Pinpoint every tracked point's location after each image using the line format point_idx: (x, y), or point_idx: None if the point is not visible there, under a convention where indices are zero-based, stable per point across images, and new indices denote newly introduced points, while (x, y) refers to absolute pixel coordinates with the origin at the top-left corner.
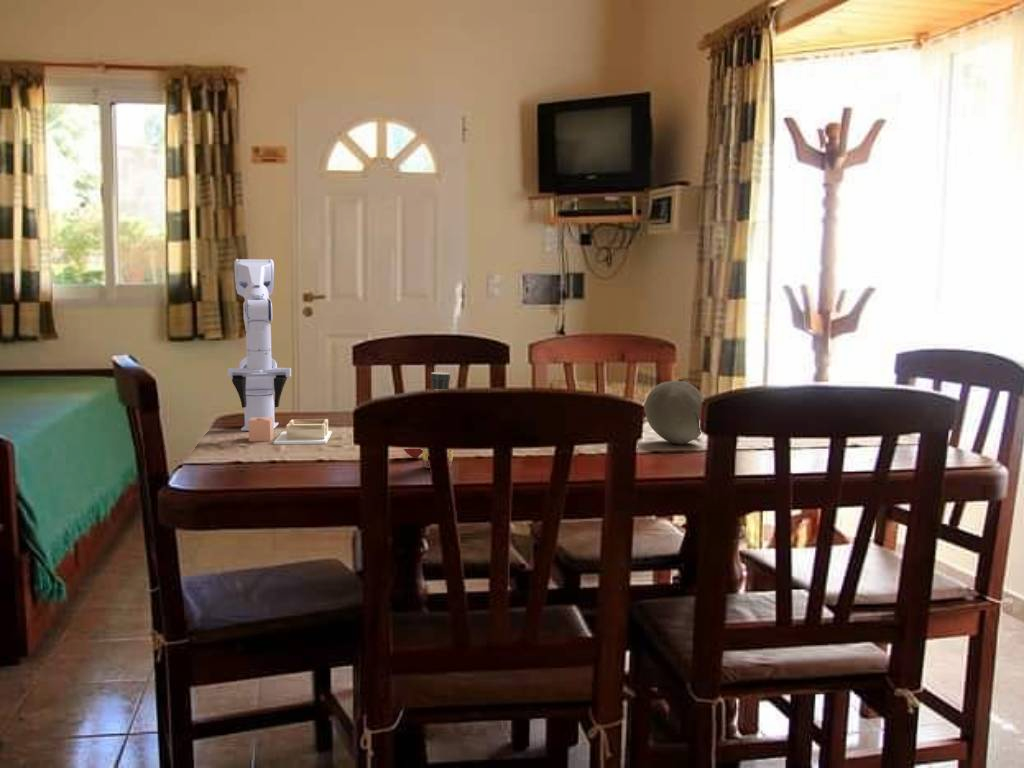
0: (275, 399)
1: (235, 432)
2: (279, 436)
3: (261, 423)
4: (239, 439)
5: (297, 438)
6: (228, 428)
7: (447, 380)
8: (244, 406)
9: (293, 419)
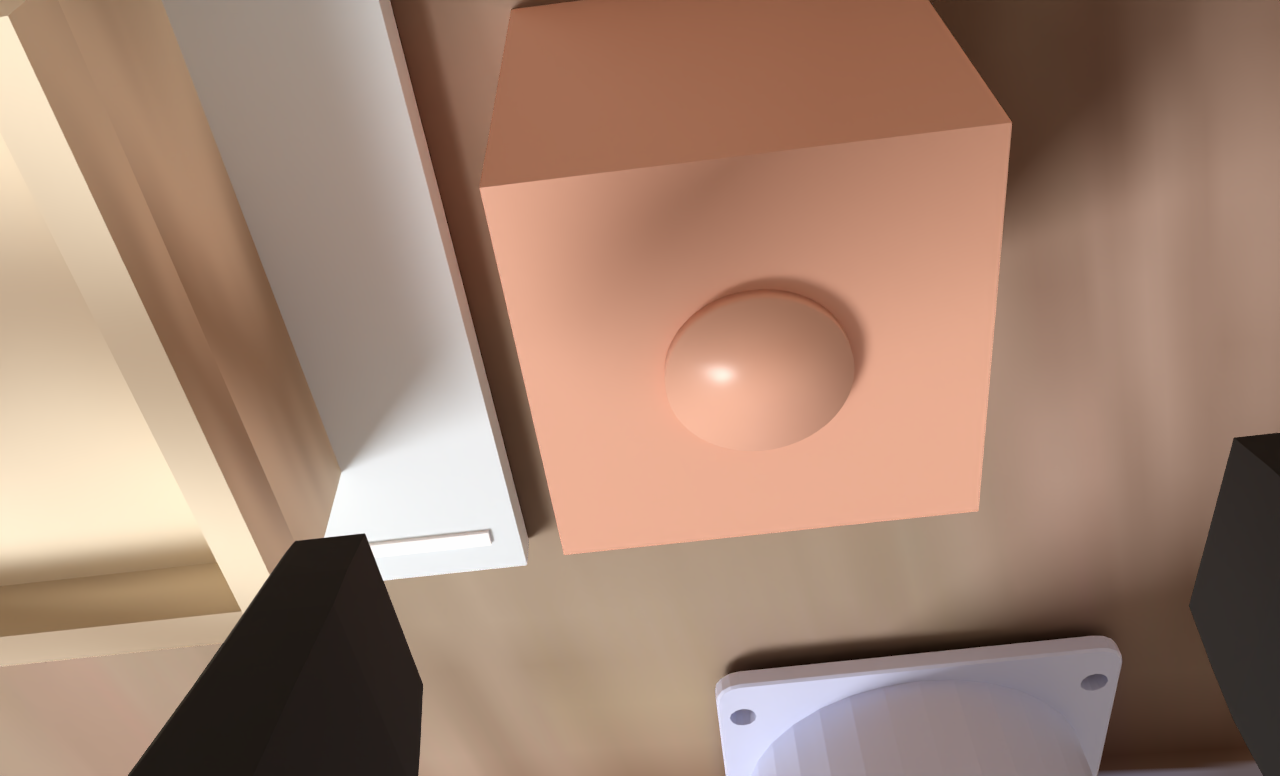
0: (258, 697)
1: (1178, 573)
2: (417, 219)
3: (681, 128)
4: (1090, 121)
5: None
6: None
7: None
8: (1260, 455)
9: None
